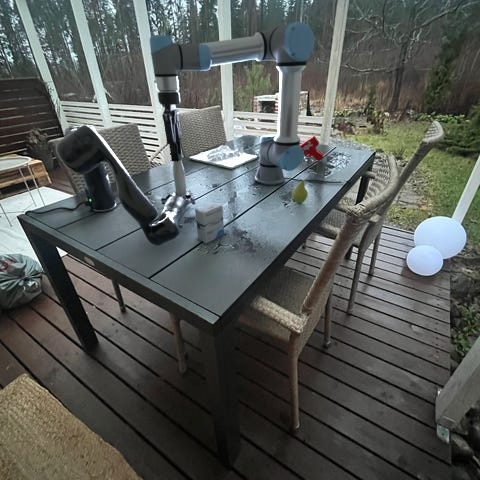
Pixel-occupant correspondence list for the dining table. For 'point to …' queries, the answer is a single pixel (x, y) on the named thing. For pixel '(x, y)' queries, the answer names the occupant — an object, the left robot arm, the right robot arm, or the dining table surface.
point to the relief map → (224, 157)
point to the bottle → (179, 179)
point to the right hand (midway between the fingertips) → (177, 159)
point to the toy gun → (311, 148)
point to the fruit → (300, 192)
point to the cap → (180, 155)
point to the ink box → (209, 221)
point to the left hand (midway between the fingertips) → (182, 191)
